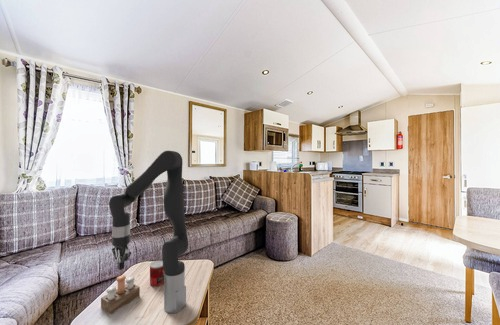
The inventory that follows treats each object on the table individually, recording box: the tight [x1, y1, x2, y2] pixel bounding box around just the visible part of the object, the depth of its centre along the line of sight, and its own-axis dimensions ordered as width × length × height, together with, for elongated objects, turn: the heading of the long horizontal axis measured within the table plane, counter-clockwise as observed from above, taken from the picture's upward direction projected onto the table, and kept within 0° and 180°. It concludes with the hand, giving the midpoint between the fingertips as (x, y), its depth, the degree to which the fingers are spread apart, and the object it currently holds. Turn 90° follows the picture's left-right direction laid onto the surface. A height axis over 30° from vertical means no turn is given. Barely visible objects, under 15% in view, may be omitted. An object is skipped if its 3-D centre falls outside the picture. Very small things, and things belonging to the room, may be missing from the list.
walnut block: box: [100, 283, 141, 315], centre depth 101 cm, size 8×14×5 cm, turn 152°
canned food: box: [149, 260, 164, 288], centre depth 116 cm, size 8×8×11 cm
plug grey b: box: [125, 276, 135, 290], centre depth 104 cm, size 4×4×9 cm
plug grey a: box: [106, 285, 117, 301], centre depth 97 cm, size 4×4×9 cm
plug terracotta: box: [116, 274, 127, 295], centre depth 100 cm, size 4×4×9 cm
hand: (121, 268), depth 100 cm, fingers closed
